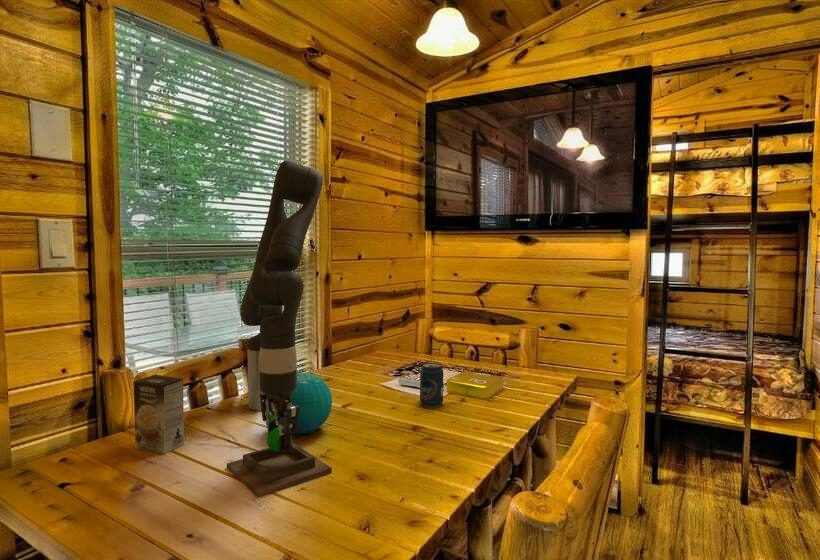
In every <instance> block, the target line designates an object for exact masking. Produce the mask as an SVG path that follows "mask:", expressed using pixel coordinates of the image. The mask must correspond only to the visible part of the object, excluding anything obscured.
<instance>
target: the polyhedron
mask: <svg viewBox="0 0 820 560" xmlns="http://www.w3.org/2000/svg"><path fill="white" fill-rule="evenodd" d="M292 440H293V439H292V438H291V441H292ZM266 444H267V446H268V447H267V448H270V449H271V450H272V451H275V452H280V432H279V427H277V428H275V429H273V430H271V431H270V433H269V435H268V434H267V437H266Z"/></svg>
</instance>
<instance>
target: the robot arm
mask: <svg viewBox="0 0 820 560" xmlns="http://www.w3.org/2000/svg"><path fill="white" fill-rule="evenodd" d="M323 179H324V178H323V174H322V172H321V171H320V170H317V169H316V168H312V167H309V166H307V165H303V164H301V163H297V162H294V161H291V160H283V161H282V162H281V163H280V164H279V166H278V168H277V170H276V174H275V177H274V181H273V188H272V193H271V198H270V201H269V202H270V203H269V206H268V207H269V208H268V211H267V217H266V221H265V224H264V226H263V227H264V228H263V231H262V233H261V237H260V240H259V244H258V248H257V251H256V256H255V261H254V264H253V269H252V273H251V276H250V278H249V282H248V284H247V287H246V290H245V292H244V295H243V296H242V297H243V298H242V301H241V304H240V319H241V322H242V323H243V324H244V325H245V326H248V327H257V326H259V333H258V334H255V335H253V336H252V337H250V338H248V340H247V343H246V344H247V346H246V347H247V388H248V391H247V392H248V393H247V394H248V395H247V397H248V405H247V406H248V409H250V410H252V411H258V412H259V411H260V412H261V419H262V422H265V426H266V427H267V436H268V435H269V433H270V431H271V430H273V429H275V428H277V427H279V432H280V452H282V453H285V452H289V451H290V450H291V442H292V440H291V439H292V434H295V433H296V432H297V427H298V418H299V406H298V405H297V406H293V405H292V400H291V392H292V391H294V390H295V389H296V388H297V373H298V370H297V369H298V368H297V367H298V366H297V363H298V362H297V361H298V360H297V358H298V357H297V349H296V321H297V318H298V317H297V316H298V312H299V307H300V304H301V301H302V297H303V293H304V287H305V285H304V281H303V279H302V277H301V275H299V273H298V272H295V271H296V269H298V268H299V266H300V264H301V259H302V255H303V250H304V245H305V241H306V238H307V234H308V230H309V227H310V225H311V222H312V220H313V217H314V214H315V211H316V209H317V208H316V207H317V205H318V202H319V199H320V195H321V192H322V188H323V183H324V182H323V181H324V180H323ZM285 201H289V202H292V203H295V204H299V205H301V207H300V208H299V209H298V210H297V211H296V212H294V213H293V214H291V215H290V216H289V217H287V214H286V208H285ZM281 417H285V419H280V418H281ZM283 423H284V428H283ZM292 424H293V427H292Z"/></svg>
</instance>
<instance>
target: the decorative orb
mask: <svg viewBox="0 0 820 560" xmlns="http://www.w3.org/2000/svg"><path fill="white" fill-rule="evenodd" d="M291 400H292V405H293V406H297V405H298V406H299V418H298V427H297V432H296V433H294V434H297V435H305V434H308V433H312V432H314V431H316V430H318V429H319V428H321V426H323V425H324V424H325V422H326V421H327V419H328V418H329V417H330V414H331V411H332V407H333V406H332V405H333V396H332V391H331V389H330V387H329V386H328V384H327V383H326V382H325V381H324V380H323V379H322V378H321V377H319V376H317V375H315V374H314V373H309V372H297V388H296V389H295V390H294V391H292V392H291ZM280 419H285V417H281V418H280ZM292 427H293V424H292ZM283 428H284V423H283Z"/></svg>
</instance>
